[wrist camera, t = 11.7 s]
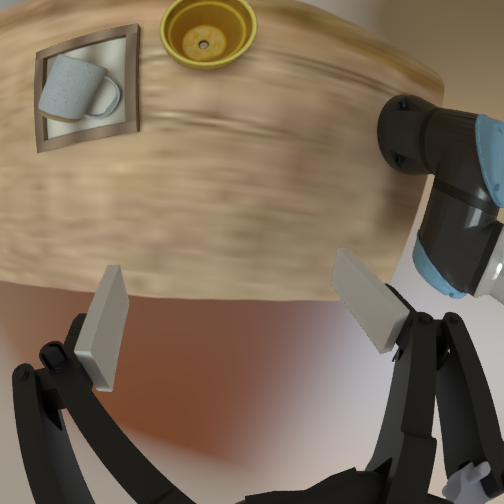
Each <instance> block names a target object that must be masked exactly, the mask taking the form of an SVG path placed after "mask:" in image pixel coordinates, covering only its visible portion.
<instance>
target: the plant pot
mask: <svg viewBox="0 0 504 504" xmlns="http://www.w3.org/2000/svg"><path fill="white" fill-rule="evenodd" d="M256 32H257V19H256V16H255V13H254V11H253V9H252V8H251V6H250V5H249V4H248V3H247V2H246V1H245V0H176V1H175V2H174V3H173V4H172V5H171V6H170V7H169V8H168V9H167V11H166V12H165V14H164V16H163V18H162V20H161V24H160V37H161V41H162V44H163V46H164V48H165V50H166V51H167V53H168V54H169V55H170V56H171V57H172V58H173V59H174V60H175V61H176V62H178V63H180V64H181V65H183V66H186V67H189V68H193V69H199V70H210V69H216V68H220V67H223V66H226V65H228V64H230V63H232V62H233V61H235V60H236V59H238V58H239V57H240V56H241V55H242V54H244V53H245V52H246V50H247V49H248V48H249V47H250V46H251V44H252V43H253V41H254V39H255V36H256ZM203 41H205V42H207V43H208V47H207V48H205V49H201V48H200V47H199V43H200V42H203Z"/></svg>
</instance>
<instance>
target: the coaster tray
mask: <svg viewBox="0 0 504 504" xmlns="http://www.w3.org/2000/svg"><path fill="white" fill-rule="evenodd" d="M139 41H140V26H139V25H138V23H137V24H131V25H126V26H121V27H116V28H111V29H107V30H103V31H99V32H95V33H91V34H88V35H84V36H81V37H77V38H74V39H71V40H68V41H65V42H62V43H59V44H57V45H54V46H51V47H49V48H46V49H44V50H41V51H39V52H36V61H35V78H34V116H35V134H36V145H37V153H40V152H43V151H47V150H51V149H54V148H58V147H62V146H66V145H70V144H74V143H79V142H83V141H88V140H93V139H98V138H103V137H108V136H114V135H120V134H126V133H132V132H138V131H140V128H139V98H138V70H139ZM59 54H63V55H66V56H69V57H73V58H77V59H80V60H83V61H86V62H90V63H93V64H96V65H98V66H102V67H104V68H107V69H108V72H107V74H106V75H107V76H108V77H110V78H111V79H113V80H114V81H115V82H116V84H117V85H118V87H119V90H120V100H119V102H118V104H117V106H116V107H115V109H114V110H113V111H112V112H111V113H110V114H109V115H107V116H105V117H103V118H99V119H90V118H87V117H83V118H82V119H81V120H80V121H78V122H76V123H65V122H59V121H55V120H52V119H49V118H46V117H44V116H42V115H41V114H40V113H39V111H38V105H39V100H40V97H41V94H42V91H43V89H44V86H45V84H46V81H47V78H48V76H49V74H50V71H51V69H52V67H53V65H54V62H55V60H56V58H57V56H58V55H59ZM115 97H116V89H115V87H114V85H113V84H112V83H111V82H110V81H109V80H107V79H103V81H102V82H101V84H100V86H99V88H98V90H97V91H96V93H95V95H94V97H93V99H92V101H91V103H90V105H89V107H88V109H87V111H86V113H88V114H93V115H95V114H96V115H99V114H102V113H104V112H105V111H106V108H107V107H109V106H110V104H111V103H112V101H113V100H114V98H115Z"/></svg>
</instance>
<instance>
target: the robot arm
mask: <svg viewBox="0 0 504 504" xmlns="http://www.w3.org/2000/svg"><path fill="white" fill-rule="evenodd" d="M378 141H379V146H380V149H381V152H382V154H383V156H384V158H385V160H386V161H387V163H388V164H389V165H390V166H391V167H392V168H394V169H395V170H397V171H400V172H402V173H405V174H409V175H423V174H433V175H435V178H434V182H433V186H432V189H431V193H430V197H429V201H428V204H427V208H426V211H425V214H424V218H423V221H422V224H421V227H420V229H419V230H418V233H417V240H416V243H415V246H414V249H413V254H412V255H413V262H414V264H415V267H416V269H417V271H418V272H419V274H420V275H421V276H422V277H423V278H424V279H425V280H426V281H427V282H428V283H429V284H430V285H431V286H432V287H433V288H435V289H436V290H438V291H439V292H441V293H442V294H444V295H449V296H450V297H451V298H455V299H460V298H463V297H464V296H465V295H467V293H469V294H470V295H472V296H473V297H475V298H476V297H479V296H482V295H487V294H488V295H490V296H492V297H493V298H494V299H496V300H497V301H499V302H500V303H502V304H503V305H504V224H503V223H500V222H499V221H497V215H498V212H499V208H500V207H501V208H503V207H504V122H502V121H499V120H496V119H493V118H490V117H488V116H487V115H483V114H480V115H479V114H474V113H469V112H463V111H458V110H452V109H445V108H439V107H437V106H435V105H433V104H432V103H430V102H428V101H426V100H424V99H422V98H420V97H418V96H414V95H398V96H395V97H393V98H392V99H391V100H389V101H388V102H387V104H386V105H385V106H384V108H383V110H382V112H381V115H380V118H379V123H378ZM330 285H331V286H332V287H333V289H334V290H335V291H336V293H337V294H338V295H339V297H340V298H341V300H342V301H343V302H344V304H345V305H346V306H347V308H348V309H349V310H350V312H351V313H352V315H353V316H354V317H355V319H356V320H357V321H358V323H359V324H360V326H361V327H362V329H363V330H364V331H365V333H366V334H367V336H368V337H369V338H370V340H371V341H372V342H373V344H374V346H375V347H376V349H377V350H378V351H379V353H380V354H383V353H386V352H389V351H392V349H393V347H394V345H395V343H396V344H397V345H398V346H399V348H398V350H397V352H396V354H395V356H394V357H393V360H392V362H394V360H395V366H394V372H393V377H392V383H391V388H390V393H389V398H388V402H387V406H386V411H385V415H384V419H383V423H382V426H381V430H380V434H379V437H378V441H377V444H376V448H375V451H374V454H373V456H372V459H371V460H370V462H369V463H368V465H367V467H366V469H365V471H356V468H355V467H354V468H351V469H348V470H346V471H343V472H340V473H337V474H334V475H331V476H329V477H328V478H326V479H324V480H323V481H321V482H320V483H317V484H316V485H314V486H312V487H310V488H309V489H307V490H300V491H272V492H267V493H261V494H255V495H249V496H245V500H243V501H240V502H238V503H236V504H485V503H486V502H488V501H490V500H492V499H494V498H495V497H497V496H499V495H501V494H503V493H504V441H503V439H502V437H501V432H500V427H499V423H498V419H497V415H496V411H495V407H494V403H493V400H492V396H491V393H490V389H489V386H488V383H487V380H486V377H485V374H484V371H483V368H482V366H481V363H480V360H479V358H478V355H477V352H476V350H475V347H474V345H473V342H472V340H471V338H470V335H469V333H468V331H467V328H466V326H465V324H464V322H463V320H462V318H461V317H460V316H459V315H458V314H456V313H453V312H447V313H445V315H444V317H443V319H442V320H434V319H433V317H432V316H430V315H429V314H427V313H425V312H417V311H415V309H414V308H413V307H412V306H411V305H410V304H409V303H408V302H407V301H406V300H405V299H403V297H402V296H401V295H400V294H399V293H398V291H397V290H396V289H395V288H393V287H392V286H390V285H388V284H387V283H386V284H384V283H383V282H382V281H381V280H380V279H379V278H378V277H377V276H376V275H375V274H374V273H373V272H372V271H371V270H370V269H369V268H368V267H367V266H366V265H365V264H364V263H363V262H362V261H361V260H360V259H359V258H358V257H357V256H356V255H355V254H354V253H353V252H352V251H351V250H350V249H349V248H337V254H336V259H335V264H334V270H333V275H332V280H331V284H330ZM128 307H129V299H128V295H127V292H126V288H125V284H124V280H123V276H122V272H121V268H120V265H108V266H107V268H106V271H105V273H104V275H103V277H102V279H101V282H100V284H99V286H98V289H97V291H96V293H95V296H94V298H93V301H92V303H91V305H90V308H89V310H88V313H85V314H84V313H83V314H78V316H77V317H76V318H75V319H74V320H73V322H72V325H71V327H70V329H69V332H68V335H67V337H66V340H65V342H64V345H63V344H62V343H61V342H59V341H52V342H49V343H47V344H46V345H44V346H43V347H42V349H41V350H40V353H39V358H40V360H41V362H42V364H43V365H44V367H45V368H42V369H38V370H34V368H33V367H32V366H31V365H30V364H27V363H24V364H21V365H19V366H18V367H17V368H16V369H15V370H14V372H13V375H12V386H13V401H14V410H15V419H16V427H17V433H18V439H19V444H20V449H21V454H22V459H23V463H24V467H25V471H26V474H27V478H28V481H29V485H30V488H31V491H32V494H33V497H34V500H35V503H36V504H95V502H94V500H93V498H92V496H91V494H90V491H89V490H88V487H87V485H86V482H85V480H84V478H83V475H82V473H81V470H80V468H79V465H78V463H77V460H76V457H75V454H74V452H73V449H72V446H71V443H70V440H69V436H68V434H67V430H66V426H65V423H64V420H63V416H62V412H61V409H65V408H67V410H68V411H69V413H70V415H71V416H72V418H73V420H74V422H75V423H76V425H77V426H78V428H79V430H80V431H81V433H82V434H83V436H84V437H85V439H86V440H87V442H88V443H89V445H90V446H91V448H92V449H93V450H94V452H95V453H96V455H97V456H98V457H99V459H100V460H101V461H102V463H103V464H104V465H105V467H106V468H107V469H108V470H109V472H110V473H111V474H112V475H113V476H114V478H115V479H116V480H117V481H118V483H119V484H120V485H121V486H122V487H123V488H124V489H125V491H126V492H127V493H128V494H129V495H130V496H131V497H132V498H133V499H134V500H135V501H136V502H137V504H196V503H195V502H193V501H192V500H191V499H190V498H189V497H187V496H186V495H185V494H184V493H183V492H181V491H180V490H179V489H178V488H177V487H176V486H174V485H173V484H172V483H171V482H170V481H169V480H168V479H167V478H166V477H165V476H164V475H163V474H161V473H160V472H159V471H158V470H157V469H156V468H155V467H154V466H153V465H152V464H151V463H150V462H149V461H148V459H147V458H145V456H144V455H143V454H142V453H141V452H140V451H139V450H138V449H137V448H136V447H135V445H134V444H133V443H132V442H131V441H130V440H129V439H128V437H127V436H126V435H125V434H124V433H123V432H122V430H121V429H120V428H119V427H118V425H117V424H116V423H115V422H114V420H113V419H112V418H111V417H110V415H109V414H108V413H107V411H106V410H105V409H104V407H103V406H102V405H101V403H100V402H99V400H98V399H97V398H96V396H95V395H94V393H93V392H92V387H93V384H94V386H95V387H96V389H97V391H112V390H113V383H114V377H115V371H116V365H117V359H118V353H119V349H120V343H121V339H122V334H123V329H124V324H125V320H126V315H127V311H128ZM449 349H450V353H449V352H448V350H449ZM435 394H436V399H437V405H438V411H439V418H440V425H441V433H442V442H443V453H444V464H445V470H446V475H447V479H448V482H447V485H446V486H445V487H444V488H443V490H442V494H443V496H445V497H446V499H443V498H440V497H437V496H434V495H432V494H428V493H427V492H428V488H429V484H430V480H431V475H432V470H433V465H434V460H435V454H436V447H437V440H436V438H433V437H432V436H431V434H432V433H431V432H432V425H433V415H434V406H435Z"/></svg>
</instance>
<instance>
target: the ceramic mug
mask: <svg viewBox="0 0 504 504" xmlns="http://www.w3.org/2000/svg"><path fill="white" fill-rule="evenodd" d="M107 72H108V69H107V68H104V67H102V66H98V65H96V64H93V63H90V62H86V61H83V60H80V59H77V58H73V57H69V56H66V55H63V54H59V55H58V56H57V58H56V60H55V62H54V65H53V67H52V69H51V71H50V74H49V76H48V78H47V81H46V84H45V86H44V89H43V91H42V94H41V97H40V100H39V105H38V111H39V113H40V114H41V115H42V116H44V117H46V118H49V119H52V120H55V121H59V122H65V123H76V122H78V121H80V120H81V119H82V118H83V117H87V118H90V119H99V118H103V117H105V116H107V115H109V114H110V113H111V112H112V111H113V110H114V109H115V107H116V106H117V104H118V102H119V100H120V90H119V87H118V85H117V84H116V82H115V81H114V80H113V79H111V78H110V77H108V76H107V75H106V74H107ZM103 79H107V80H109V81H110V82H111V83H112V84H113V85H114V87H115V89H116V97H115V98H114V100H113V101H112V103H111V104H110V106H109V107H107V108H106V111H105V112H104V113H102V114H99V115H96V114H95V115H93V114H88V113H86V111H87V109H88V107H89V105H90V103H91V101H92V99H93V97H94V95H95V93H96V91H97V90H98V88H99V86H100V84H101V82H102V81H103Z"/></svg>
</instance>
